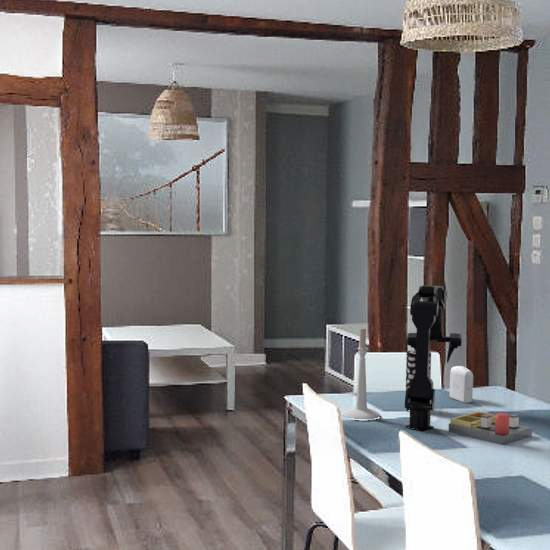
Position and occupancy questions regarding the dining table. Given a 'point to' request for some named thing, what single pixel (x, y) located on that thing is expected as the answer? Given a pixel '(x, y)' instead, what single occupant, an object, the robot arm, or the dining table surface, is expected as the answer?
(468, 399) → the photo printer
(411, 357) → the white-spotted black cylinder
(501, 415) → the red rounded cylinder
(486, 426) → the block
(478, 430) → the panel
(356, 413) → the candlestick
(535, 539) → the dining table surface
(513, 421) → the block
